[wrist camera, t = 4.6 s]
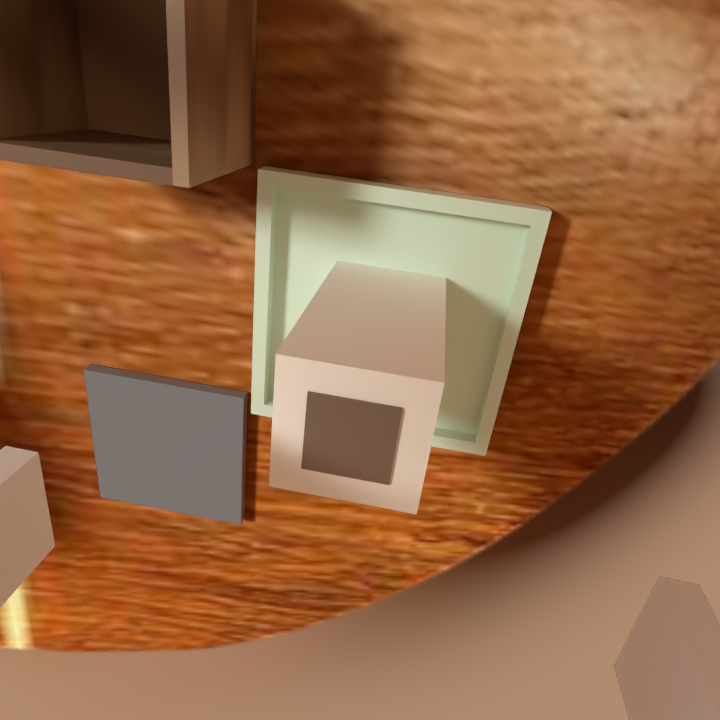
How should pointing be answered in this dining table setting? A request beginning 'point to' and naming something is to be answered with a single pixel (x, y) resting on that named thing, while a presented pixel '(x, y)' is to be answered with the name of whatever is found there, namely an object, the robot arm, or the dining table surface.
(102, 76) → the walnut open box
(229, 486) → the slate coaster
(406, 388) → the cream square pillar
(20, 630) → the dining table surface
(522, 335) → the dining table surface
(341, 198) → the green tray
